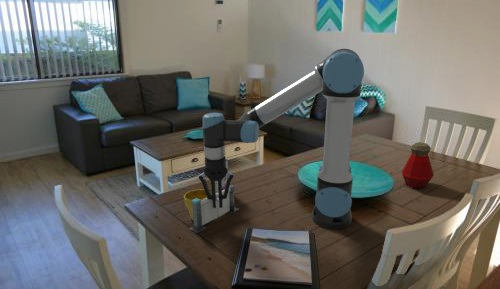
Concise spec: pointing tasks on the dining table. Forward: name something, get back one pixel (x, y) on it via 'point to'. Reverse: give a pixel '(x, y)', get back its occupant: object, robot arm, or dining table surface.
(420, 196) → the dining table surface
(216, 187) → the candy bar box
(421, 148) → the bottle
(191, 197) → the plant pot
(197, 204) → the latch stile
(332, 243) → the dining table surface
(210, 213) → the white rounded panel
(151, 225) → the dining table surface
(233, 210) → the hinge post
